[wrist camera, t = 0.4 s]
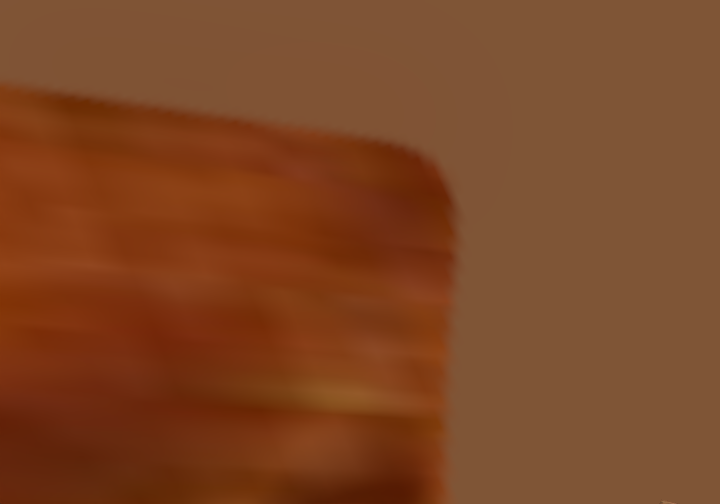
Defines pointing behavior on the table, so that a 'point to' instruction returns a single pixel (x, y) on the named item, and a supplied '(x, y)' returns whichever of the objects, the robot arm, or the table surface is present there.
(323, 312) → the table surface
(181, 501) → the table surface
